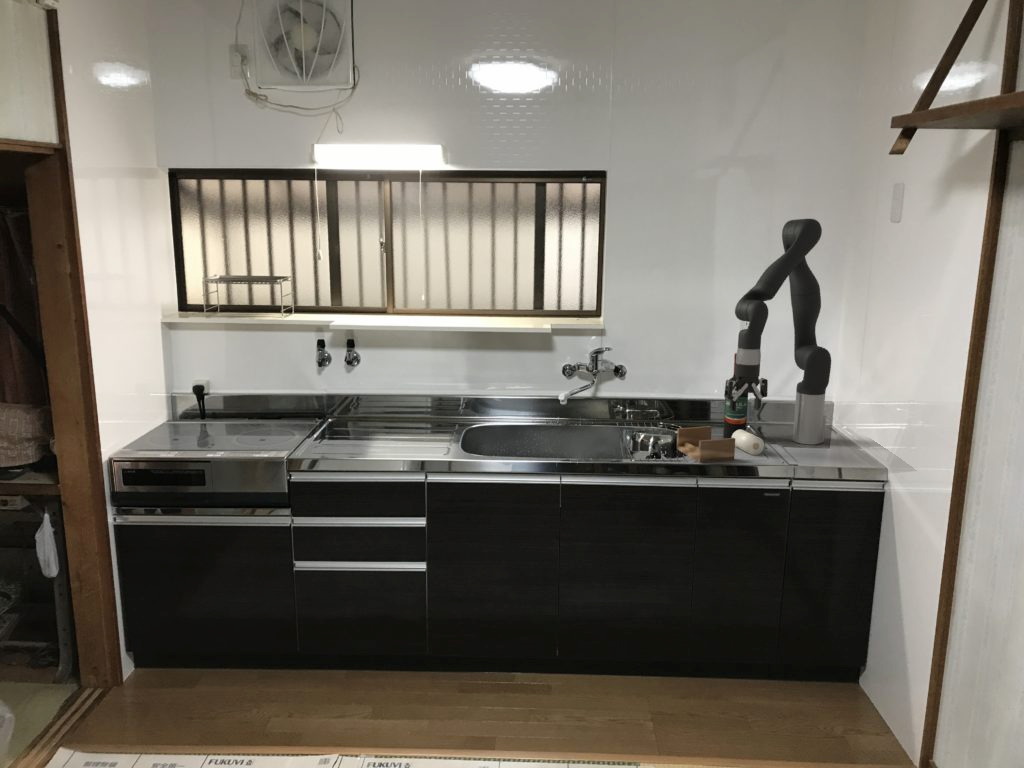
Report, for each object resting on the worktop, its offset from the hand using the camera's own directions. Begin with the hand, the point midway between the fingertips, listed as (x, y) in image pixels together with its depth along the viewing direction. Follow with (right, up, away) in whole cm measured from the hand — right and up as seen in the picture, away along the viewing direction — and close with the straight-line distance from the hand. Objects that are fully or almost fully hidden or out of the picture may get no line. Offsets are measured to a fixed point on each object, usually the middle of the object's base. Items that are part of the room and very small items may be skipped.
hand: (744, 410), depth 246 cm
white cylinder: (0, -13, +3) cm, 13 cm away
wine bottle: (+2, -11, +17) cm, 20 cm away
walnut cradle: (-13, -14, -1) cm, 19 cm away
